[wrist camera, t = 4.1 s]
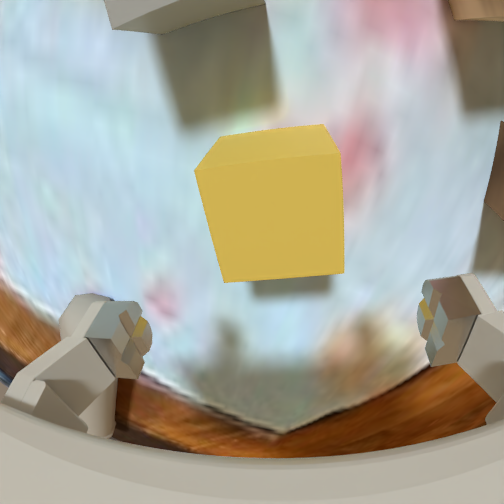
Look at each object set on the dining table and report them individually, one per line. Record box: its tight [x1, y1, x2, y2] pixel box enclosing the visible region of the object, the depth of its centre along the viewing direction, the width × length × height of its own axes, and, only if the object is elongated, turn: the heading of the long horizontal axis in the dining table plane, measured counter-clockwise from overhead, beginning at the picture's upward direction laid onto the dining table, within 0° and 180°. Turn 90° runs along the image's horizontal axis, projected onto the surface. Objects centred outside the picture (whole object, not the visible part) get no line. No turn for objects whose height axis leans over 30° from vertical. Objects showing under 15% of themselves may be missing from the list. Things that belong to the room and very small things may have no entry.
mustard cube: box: [194, 124, 344, 283], centre depth 14 cm, size 5×5×5 cm
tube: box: [59, 293, 118, 439], centre depth 27 cm, size 5×5×25 cm
